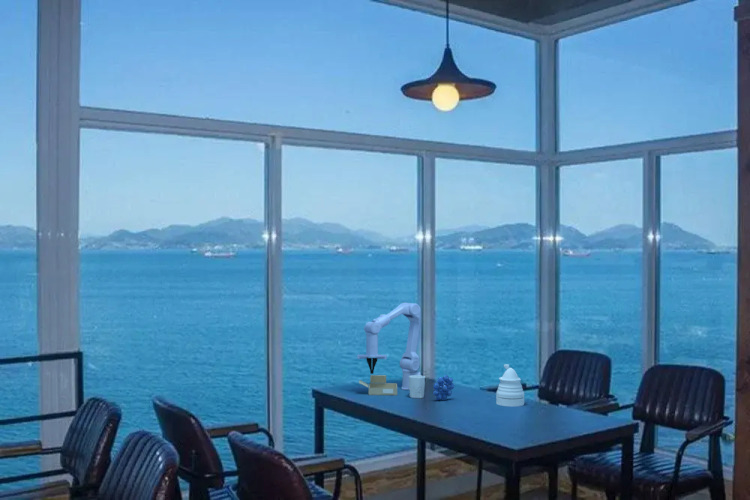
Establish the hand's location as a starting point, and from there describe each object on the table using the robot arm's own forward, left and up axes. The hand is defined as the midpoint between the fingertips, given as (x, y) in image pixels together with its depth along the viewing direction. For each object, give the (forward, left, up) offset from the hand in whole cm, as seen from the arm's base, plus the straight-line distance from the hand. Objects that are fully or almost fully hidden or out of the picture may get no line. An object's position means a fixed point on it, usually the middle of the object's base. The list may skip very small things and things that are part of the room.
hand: (371, 373), depth 382 cm
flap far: (+2, 0, -6) cm, 6 cm away
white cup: (-22, +9, -10) cm, 26 cm away
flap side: (-3, -9, -6) cm, 12 cm away
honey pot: (-65, +23, -10) cm, 70 cm away
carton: (-5, -2, -10) cm, 12 cm away
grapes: (-34, +16, -10) cm, 39 cm away
